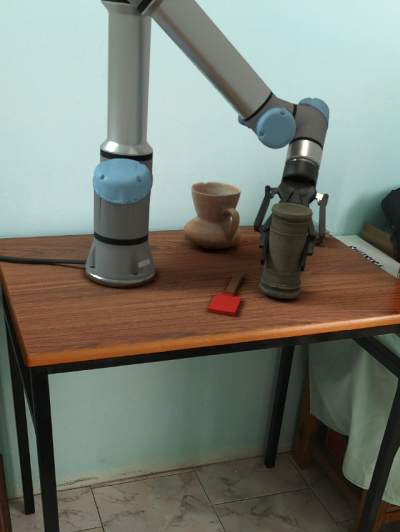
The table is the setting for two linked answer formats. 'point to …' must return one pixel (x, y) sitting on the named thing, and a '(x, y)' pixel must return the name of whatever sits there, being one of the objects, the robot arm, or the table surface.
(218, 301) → the red spatula
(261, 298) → the table surface
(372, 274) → the table surface
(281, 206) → the container
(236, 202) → the ceramic jug
